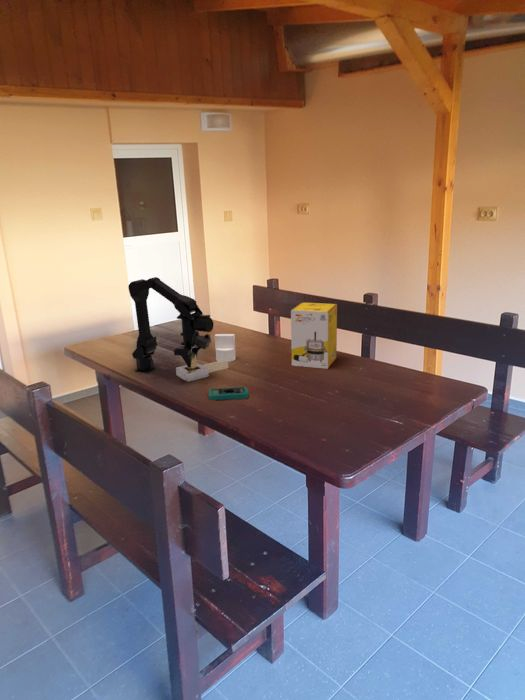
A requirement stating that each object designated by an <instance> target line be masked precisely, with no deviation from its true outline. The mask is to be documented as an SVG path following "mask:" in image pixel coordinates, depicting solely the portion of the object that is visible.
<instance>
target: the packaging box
mask: <svg viewBox="0 0 525 700" xmlns="http://www.w3.org/2000/svg"><path fill="white" fill-rule="evenodd" d="M337 322H338V304H337V303H320V302H319V303H318V302H301V303H299V304H298V305H296V306H295V307H293V308H292V309H291V310H290V329H291V331H290V333H291V335H290V336H291V337H290V338H291V339H290V341H291V366H294V367H302V366H303V367H304V368H315V369H326V370H327V369H329V368H330V366H331V365H332V364H333V362H335V361H336V359H337V348H338V347H337V345H338V344H337V341H338V340H337V339H338V337H337V335H338V331H337V330H338V329H337V328H338V323H337Z"/></svg>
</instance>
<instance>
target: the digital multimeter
mask: <svg viewBox="0 0 525 700" xmlns="http://www.w3.org/2000/svg"><path fill="white" fill-rule="evenodd" d="M248 397H249V390H248V388H247V387H245V386H236V387H222V388H221V387H219V388H210V389H209V390H208V399H209V400H211V401H213V400H214V401H215V400H216V401H227V399H229V400H240V399H241V400H244V399H245V400H246V398H247V399H248Z"/></svg>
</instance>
